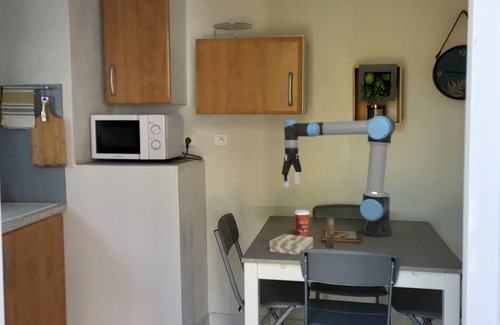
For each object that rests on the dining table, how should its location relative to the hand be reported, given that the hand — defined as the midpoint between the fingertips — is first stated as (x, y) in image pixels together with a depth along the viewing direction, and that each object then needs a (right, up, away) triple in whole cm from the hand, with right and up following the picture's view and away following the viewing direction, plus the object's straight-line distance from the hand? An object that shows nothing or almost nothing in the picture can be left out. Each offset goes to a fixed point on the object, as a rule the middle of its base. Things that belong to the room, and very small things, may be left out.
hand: (292, 185), depth 279 cm
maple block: (-3, -30, -34) cm, 45 cm away
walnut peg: (+16, -30, -32) cm, 47 cm away
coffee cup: (+5, -28, -13) cm, 31 cm away
